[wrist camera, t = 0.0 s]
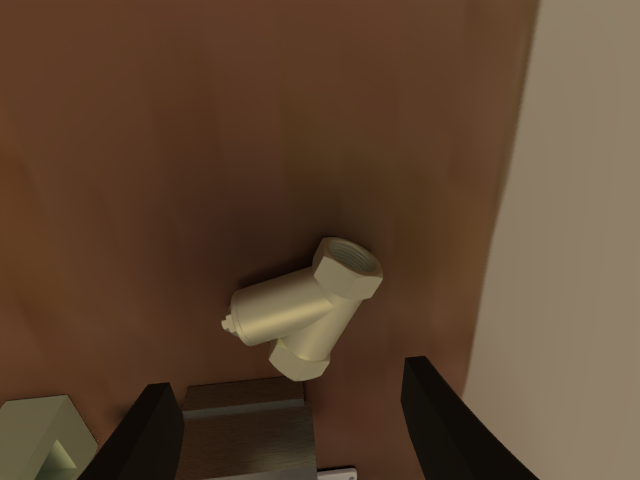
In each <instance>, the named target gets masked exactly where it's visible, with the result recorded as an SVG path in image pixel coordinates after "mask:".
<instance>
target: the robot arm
mask: <svg viewBox="0 0 640 480" xmlns="http://www.w3.org/2000/svg"><path fill="white" fill-rule="evenodd" d="M401 404H402V408H403V412H404V416H405V420H406V424H407V428H408V432H409V435H410V438H411V441H412V443H413V446H414V449H415V452H416V454H417V457H418V460H419V463H420V465H421V468H422V471H423V474H424V476H425V479H426V480H539V479H538V478H537V477H536V476H535V475H534V474H533V473H532V472H531V471H530V470H528V469H527V468H526V467H525V466H524V465H523V464H522V463H521V462H520V461H519V460H518V459H517V458H516V457H515V456H514V455H513V454H512V453H511V452H510V451H509V450H508V449H507V448H506V447H504V445H503V444H502V443H501V442H500V441H499V440H498V439H497V438H496V437H495V436H494V435H493V434H492V433H491V432H490V431H489V430H488V429H487V428H486V427H485V426H484V425H483V423H482V422H481V421H480V420H479V419H478V418H477V417H476V416H475V415H474V414H473V412H472V411H471V410H470V409H469V408H468V407H467V406H466V405H465V404H464V402H463V401H462V400H461V399H460V398H459V397H458V395H457V394H456V393H455V392H454V391H453V389H452V388H451V387H450V386H449V385H448V383H447V382H446V381H445V380H444V379H443V377H442V376H441V375H440V374H439V372H438V371H437V370H436V369H435V367H434V366H433V365H432V363H431V362H430V361H429V360H428V358H427V357H425V356H418V357H408V358H405V365H404V374H403V383H402V392H401ZM184 427H185V423H184V420H183V418H182V415H181V412H180V410H179V407H178V404H177V402H176V399H175V396H174V394H173V391H172V389H171V386H170V383H169V382H168V383H158V384H148V385H147V387H146V388H145V389H144V390H143V392H142V393H141V395H140V396H139V397H138V399H137V400H136V402H135V403H134V404H133V406H132V407H131V409H130V410H129V411H128V413H127V414H126V415H125V417H124V418H123V420H122V421H121V422H120V424H119V425H118V426H117V428H116V429H115V430H114V432H113V433H112V435H111V436H110V437H109V438H108V440H107V441H106V442H105V444H104V445H103V446H102V448H101V449H100V450H99V452H98V453H97V454H96V456H95V457H94V458H93V459H92V461H91V462H90V463H89V465H88V466H87V467H86V468H85V470H84V471H83V472H82V473H81V475H80V476H79V477H78V478H77V479H76V480H174V479H175V476H176V472H177V468H178V464H179V460H180V454H181V448H182V441H183V434H184ZM317 478H318V480H357V471H356V469H355V468H347V469H339V470H331V471H322V472H317Z"/></svg>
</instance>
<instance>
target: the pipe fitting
mask: <svg viewBox="0 0 640 480" xmlns="http://www.w3.org/2000/svg"><path fill="white" fill-rule="evenodd" d="M382 280H383V272H382V268H381V265H380V263H379V261H378V260H377V259H376V258H375V257H374V256H373V255H372V254H371V253H370V252H369V251H367V250H366V249H365V248H363V247H362V246H360V245H358V244H356V243H354V242H352V241H349V240H347V239H343V238H339V237H327V238H323V239H322V241H321V243H320V245H319V246H318V248H317V250H316V252H315V254H314V256H313V262H312V266H310V267H307V268H304V269H301V270H298V271H295V272H292V273H289V274H286V275H283V276H280V277H277V278H273V279H270V280H267V281H264V282H261V283H258V284H255V285H252V286H249V287H246V288H243V289H240V290H237V291H235V292H234V293H233V295H232V298H231V305H229V306H228V308H227V310H226V315H224V316H223V317H222V326H223V328H224V330H225V331H228V332H229V331H230V332H231V334H233V335H234V336H237V337H239V338H240V339H241V340H242V342H243V343H244V344H246V345H248V346H254V345H257V344H260V343H263V342H267V341H270V340H271V343H270V349H269V361H270V362H271V363H272V364H273V365H274V366H275V367H276V368H277V369H278V370H279V371H280V372H281V373H282V374H284V375H285V376H287V377H288V378H290V379H292V380H293V381H304V380H309V379H313V378H316V377H319V376H321V375H322V373H323V372H324V370H325V369H326V367H327V366H328V364H329V362H330V351H331V350H332V348H333V346H334V345H335V343H336V342H337V340H338V338H339V337H340V335H341V334H342V332H343V331H344V329H345V327H346V326H347V324H348V323H349V321H350V319H351V318H352V316H353V315H354V313H355V312H356V310H357V308H358V307H359V305H360V304H361V302H362V300H363V299H367V298H371V297H372V296H373V294H374V292H375V291H376V289H377V288H378V286H379V285H380V283H381V281H382Z"/></svg>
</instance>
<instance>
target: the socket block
mask: <svg viewBox="0 0 640 480" xmlns="http://www.w3.org/2000/svg"><path fill="white" fill-rule="evenodd" d="M97 448H98V444H97V443H96V441H95V439H94V438H93V436H92V434H91V433H90V431H89V429H88V428H87V426H86V425H85V423H84V421H83V420H82V418H81V416H80V415H79V413H78V411H77V410H76V408H75V406H74V405H73V403H72V402H71V400H70V398H69V397H68V395H61V396H51V397H42V398H32V399H23V400H13V401H6V402H5V403H4V405H3V406H2V407H1V409H0V480H76V479H77V478H78V477H79V476H80V475H81V473H82V472H83V471H84V470H85V468H86V467H87V466H88V464H89V462H90V460H91V459H92V458H93V457H94V454H95V452H96V450H97Z"/></svg>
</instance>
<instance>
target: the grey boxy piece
mask: <svg viewBox="0 0 640 480" xmlns="http://www.w3.org/2000/svg"><path fill="white" fill-rule="evenodd" d="M182 414H183V420H184V423H185V427H184V434H183V441H182V448H181V454H180V460H179V464H178V468H177V472H176V476H175V479H174V480H318V478H317V465H316V453H315V441H314V429H313V417H312V406H311V401H309V402H305V400H304V390H303V381H293V380H292V379H290V378H288V377H278V378H269V379H259V380H250V381H240V382H231V383H221V384H212V385H203V386H193V387H188V390H187V394H186V398H185V401H184V405H183V409H182Z"/></svg>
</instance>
